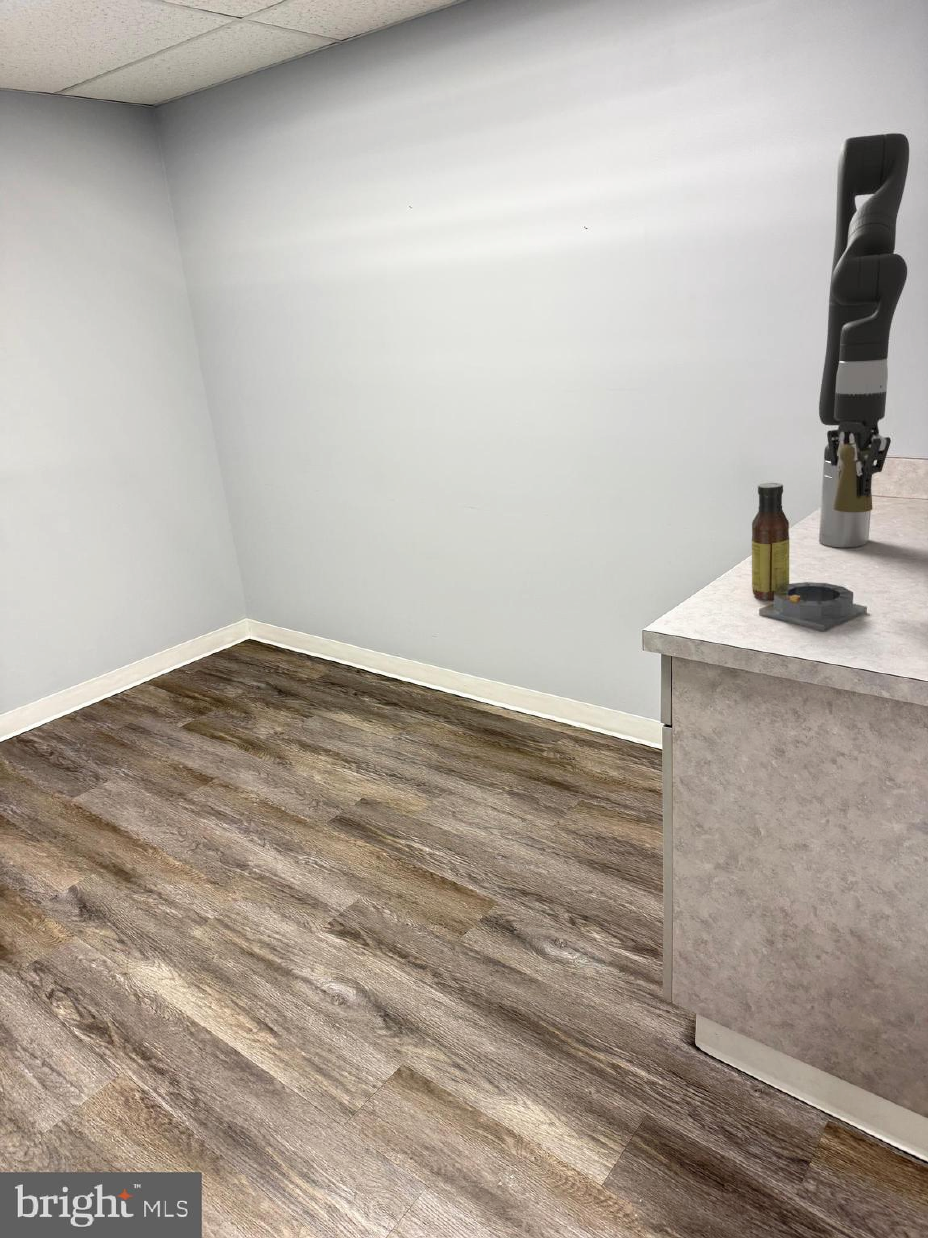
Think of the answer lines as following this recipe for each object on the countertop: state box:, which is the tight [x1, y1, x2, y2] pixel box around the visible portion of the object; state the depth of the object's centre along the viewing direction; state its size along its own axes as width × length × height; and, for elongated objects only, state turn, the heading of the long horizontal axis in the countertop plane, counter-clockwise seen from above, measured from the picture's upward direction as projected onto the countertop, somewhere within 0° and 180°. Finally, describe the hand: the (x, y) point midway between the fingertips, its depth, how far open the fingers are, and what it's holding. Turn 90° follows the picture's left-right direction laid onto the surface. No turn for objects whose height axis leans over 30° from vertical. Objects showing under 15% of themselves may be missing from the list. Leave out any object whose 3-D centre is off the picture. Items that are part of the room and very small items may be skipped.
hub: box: [758, 581, 868, 633], centre depth 148 cm, size 12×12×4 cm
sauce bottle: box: [751, 482, 790, 601], centre depth 155 cm, size 6×6×20 cm
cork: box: [833, 443, 874, 512], centre depth 148 cm, size 6×6×11 cm
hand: (853, 494), depth 149 cm, fingers closed on cork, 4 cm apart
